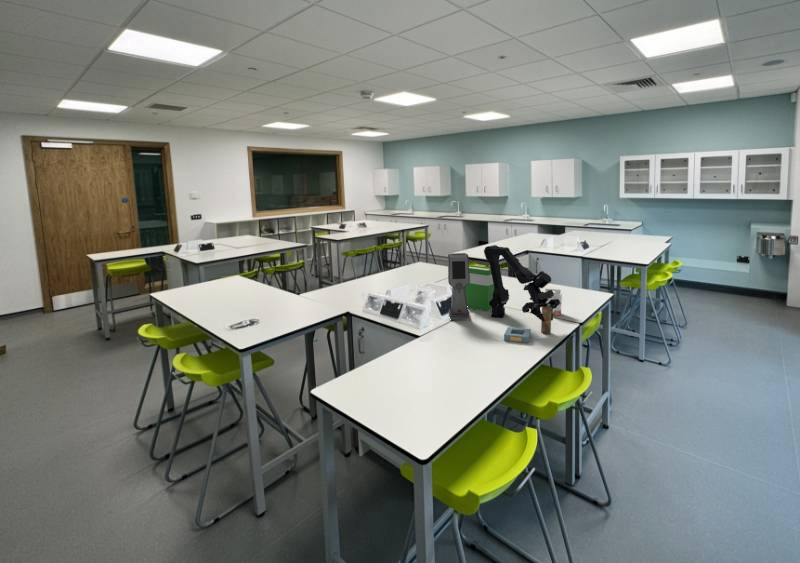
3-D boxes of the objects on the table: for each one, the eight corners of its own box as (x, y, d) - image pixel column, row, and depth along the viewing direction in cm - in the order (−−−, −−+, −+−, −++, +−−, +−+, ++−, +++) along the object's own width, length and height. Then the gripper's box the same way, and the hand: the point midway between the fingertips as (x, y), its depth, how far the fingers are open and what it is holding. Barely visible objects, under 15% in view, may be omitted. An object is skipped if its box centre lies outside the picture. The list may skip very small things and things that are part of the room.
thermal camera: (467, 313, 247) (467, 252, 239) (471, 320, 235) (471, 256, 227) (447, 313, 247) (446, 253, 239) (449, 320, 235) (448, 257, 227)
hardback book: (462, 306, 261) (462, 267, 256) (469, 303, 266) (469, 265, 261) (487, 311, 249) (488, 270, 244) (494, 308, 254) (495, 268, 249)
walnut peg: (540, 333, 210) (541, 308, 207) (541, 330, 214) (542, 305, 211) (550, 334, 209) (551, 308, 206) (550, 331, 213) (551, 306, 210)
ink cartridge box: (561, 313, 240) (562, 287, 237) (560, 316, 236) (561, 289, 232) (545, 311, 244) (546, 286, 241) (543, 314, 240) (544, 288, 236)
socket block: (503, 340, 203) (503, 334, 203) (507, 332, 213) (507, 327, 213) (527, 343, 199) (528, 337, 198) (530, 335, 209) (530, 329, 208)
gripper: (526, 286, 207) (538, 315, 200) (559, 282, 212) (572, 310, 205) (516, 298, 216) (528, 326, 209) (548, 294, 222) (561, 321, 214)
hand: (548, 320), depth 209 cm, fingers closed on walnut peg, 4 cm apart
